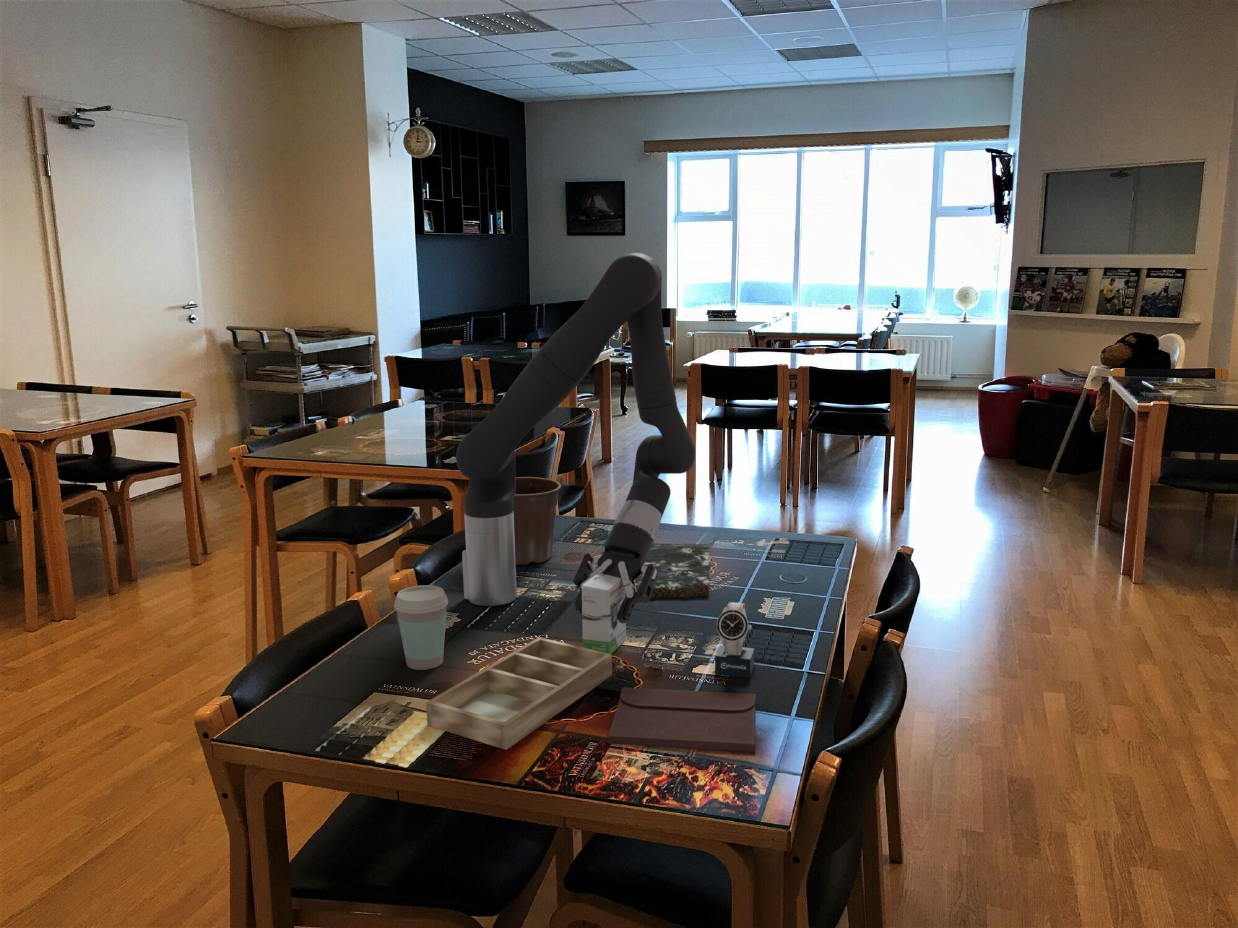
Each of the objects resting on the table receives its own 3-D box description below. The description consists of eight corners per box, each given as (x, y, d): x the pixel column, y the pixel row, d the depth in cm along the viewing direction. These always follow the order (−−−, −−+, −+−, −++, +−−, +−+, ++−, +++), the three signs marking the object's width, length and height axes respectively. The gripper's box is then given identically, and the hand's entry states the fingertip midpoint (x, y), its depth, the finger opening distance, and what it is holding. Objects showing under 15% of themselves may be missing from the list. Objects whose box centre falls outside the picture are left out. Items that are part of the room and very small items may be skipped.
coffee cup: (460, 655, 162) (457, 586, 159) (434, 676, 154) (430, 604, 151) (415, 649, 164) (411, 581, 162) (387, 669, 156) (382, 598, 154)
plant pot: (571, 548, 219) (569, 478, 215) (550, 571, 203) (548, 495, 200) (502, 544, 222) (499, 475, 219) (476, 566, 207) (473, 492, 204)
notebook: (754, 756, 130) (755, 742, 129) (607, 747, 132) (607, 734, 132) (755, 704, 144) (755, 692, 144) (622, 697, 147) (622, 685, 146)
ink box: (609, 658, 160) (608, 589, 157) (581, 654, 161) (579, 586, 159) (627, 638, 168) (626, 573, 165) (600, 635, 169) (599, 570, 167)
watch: (712, 679, 151) (713, 612, 149) (721, 658, 159) (722, 594, 157) (748, 683, 150) (749, 615, 148) (756, 662, 157) (757, 597, 155)
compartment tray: (427, 725, 138) (426, 702, 137) (539, 656, 161) (538, 637, 160) (506, 749, 131) (505, 725, 130) (612, 674, 153) (611, 654, 153)
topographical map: (709, 551, 217) (709, 538, 216) (708, 604, 185) (708, 589, 184) (593, 549, 219) (593, 536, 219) (573, 601, 187) (572, 586, 187)
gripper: (590, 515, 170) (554, 599, 163) (662, 526, 163) (628, 614, 156) (607, 537, 176) (573, 618, 168) (677, 548, 168) (645, 634, 161)
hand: (599, 616), depth 162 cm, fingers open, 7 cm apart
